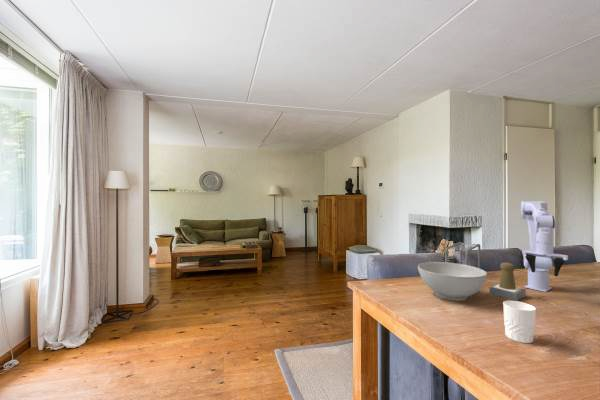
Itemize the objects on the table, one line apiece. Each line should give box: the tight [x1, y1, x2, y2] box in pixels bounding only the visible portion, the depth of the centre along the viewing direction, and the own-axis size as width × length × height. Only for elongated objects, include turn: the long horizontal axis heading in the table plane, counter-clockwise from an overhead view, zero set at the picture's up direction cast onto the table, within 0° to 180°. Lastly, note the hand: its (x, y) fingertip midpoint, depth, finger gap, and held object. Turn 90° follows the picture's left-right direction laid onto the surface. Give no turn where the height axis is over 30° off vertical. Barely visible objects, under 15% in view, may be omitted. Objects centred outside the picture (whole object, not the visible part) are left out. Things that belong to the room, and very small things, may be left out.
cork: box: [498, 262, 517, 290], centre depth 121 cm, size 6×6×11 cm
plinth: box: [489, 283, 527, 301], centre depth 121 cm, size 10×10×3 cm
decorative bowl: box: [417, 261, 488, 302], centre depth 119 cm, size 27×27×12 cm
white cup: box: [502, 300, 537, 344], centre depth 83 cm, size 8×8×10 cm
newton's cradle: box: [444, 241, 481, 269], centre depth 148 cm, size 30×10×18 cm, turn 136°
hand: (544, 273), depth 117 cm, fingers open, 7 cm apart
